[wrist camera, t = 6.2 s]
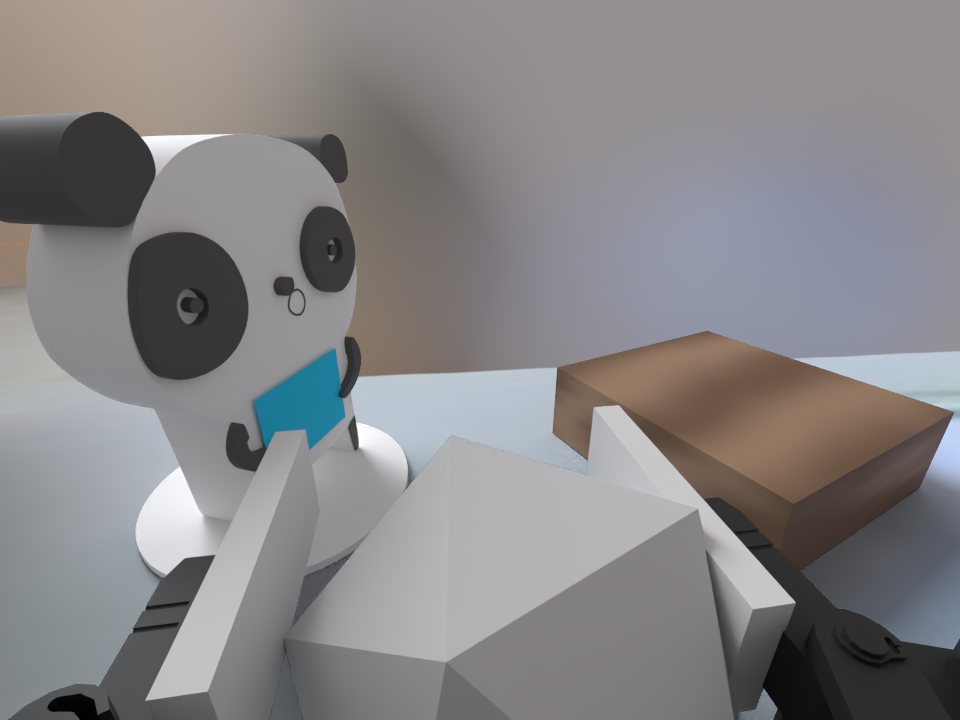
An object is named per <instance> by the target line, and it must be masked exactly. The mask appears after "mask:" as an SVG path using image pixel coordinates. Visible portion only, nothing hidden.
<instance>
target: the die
mask: <svg viewBox="0 0 960 720" xmlns="http://www.w3.org/2000/svg"><path fill="white" fill-rule="evenodd" d="M284 645H285V649H286V653H287V657H288V661H289V665H290V669H291V673H292V677H293V681H294V685H295V689H296V693H297V697H298V701H299V705H300V709H301V713H302V717H303V720H742V717H741V712H738V711H737V707H736V703H735V699H734V695H733V691H732V687H731V682H730V678H729V673H728V667H727V662H726V657H725V651H724V646H723V640H722V635H721V630H720V624H719V619H718V614H717V608H716V603H715V597H714V592H713V587H712V581H711V576H710V571H709V565H708V560H707V555H706V549H705V542H704V534H703V528H702V524H701V519H700V515H699V510H698V508H694V507H691V506H688V505H684V504H681V503H677V502H674V501H671V500H667V499H664V498H661V497H657V496H654V495H651V494H647V493H644V492H640V491H637V490H634V489H630V488H627V487H624V486H620V485H617V484H614V483H610V482H607V481H603V480H600V479H597V478H593V477H590V476H587V475H583V474H580V473H577V472H573V471H570V470H566V469H563V468H560V467H556V466H553V465H550V464H546V463H543V462H540V461H536V460H533V459H529V458H526V457H523V456H519V455H516V454H513V453H509V452H506V451H503V450H499V449H496V448H493V447H489V446H486V445H482V444H479V443H476V442H472V441H469V440H466V439H462V438H459V437H456V436H452V435H451V436H450V437H449V438H448V439H447V441H446V442H445V443H444V444H443V445H442V447H441V448H440V449H439V450H438V452H437V453H436V454H435V455H434V456H433V458H432V459H431V460H430V461H429V462H428V464H427V465H426V466H425V467H424V468H423V470H422V471H421V472H420V473H419V474H418V476H417V477H416V478H415V479H414V480H413V482H412V483H411V484H410V485H409V486H408V488H407V489H406V490H405V491H404V493H403V494H402V495H401V496H400V497H399V499H398V500H397V501H396V502H395V503H394V505H393V506H392V507H391V508H390V509H389V511H388V512H387V513H386V514H385V515H384V517H383V518H382V519H381V520H380V521H379V523H378V524H377V525H376V526H375V527H374V529H373V530H372V531H371V532H370V534H369V535H368V536H367V537H366V538H365V540H364V541H363V542H362V543H361V544H360V546H359V547H358V548H357V549H356V550H355V552H354V553H353V554H352V555H351V556H350V558H349V559H348V560H347V561H346V562H345V564H344V565H343V566H342V567H341V568H340V570H339V571H338V572H337V573H336V575H335V576H334V577H333V578H332V579H331V581H330V582H329V583H328V584H327V585H326V587H325V588H324V589H323V590H322V591H321V593H320V594H319V595H318V596H317V597H316V599H315V600H314V601H313V602H312V603H311V605H310V606H309V607H308V608H307V609H306V611H305V612H304V613H303V614H302V616H301V617H300V618H299V619H298V620H297V622H296V623H295V624H294V625H293V626H292V628H291V629H290V630H289V631H288V632H287V634H286V635H285V637H284Z"/></svg>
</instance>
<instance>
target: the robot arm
mask: <svg viewBox="0 0 960 720" xmlns="http://www.w3.org/2000/svg"><path fill="white" fill-rule="evenodd" d="M586 475H587V476H590V477H593V478H597V479H600V480H603V481H607V482H610V483H614V484H617V485H620V486H624V487H627V488H630V489H634V490H637V491H640V492H644V493H647V494H651V495H654V496H657V497H661V498H664V499H667V500H671V501H674V502H677V503H681V504H684V505H688V506H691V507H694V508H698V510H699V515H700V519H701V524H702V528H703V534H704V542H705V549H706V555H707V560H708V565H709V571H710V576H711V581H712V587H713V592H714V597H715V603H716V608H717V614H718V619H719V624H720V630H721V635H722V640H723V646H724V651H725V657H726V662H727V667H728V673H729V678H730V682H731V687H732V691H733V695H734V699H735V703H736V707H737V711H738V712H743V711H748V710H754V709H756V706H757V704H758V701H759V698H760V696H761V693H762V691H763V688H764V689H765V691H766V692H767V694H768V695H769V696H770V698H771V699H772V701H773V702H774V704H775V705H776V707H777V708H778V710H777V712H776V714H775V717H774V719H773V720H960V639H959V641H958V643H957V644H956V646H955V648H954V649H953V650H951V649H945V648H939V647H933V646H927V645H921V644H915V643H909V642H903V641H900V640H899V639H897V638H896V637H895V636H894V635H892V634H891V633H890V632H889V631H887V630H886V629H885V628H884V627H882V626H881V625H879V624H877V623H876V622H874V621H872V620H870V619H868V618H866V617H865V616H863V615H860V614H857V613H854V612H851V611H847V610H844V609H837V608H836V607H835V606H833V605H832V604H831V603H830V602H829V601H828V600H827V599H826V598H825V597H824V596H823V594H822V593H821V592H820V591H819V590H818V589H817V588H816V587H815V586H814V585H813V584H812V583H811V582H810V581H809V580H808V579H807V578H806V577H805V576H804V575H803V574H802V573H801V572H800V571H799V570H798V569H797V568H796V567H795V566H794V565H793V564H792V563H791V562H790V561H789V560H788V559H787V558H786V557H785V556H784V555H783V554H782V553H781V551H780V550H779V549H778V548H774V547H773V543H772V542H771V541H770V540H769V539H768V538H767V537H766V536H765V535H764V534H763V533H760V532H759V529H758V528H757V527H756V526H755V525H754V524H753V523H752V522H751V521H750V520H749V519H748V518H747V517H746V516H745V515H744V514H743V513H742V512H741V511H740V510H738V509H737V508H735V507H733V506H732V505H730V504H729V503H727V502H725V501H724V500H722V499H721V498H719V497H716V498H707V499H702V497H701V496H700V495H699V494H698V493H697V492H696V491H695V490H694V489H693V487H692V486H691V485H690V484H689V483H688V482H687V481H686V480H685V479H684V477H683V476H682V475H681V474H680V473H679V472H678V471H677V470H676V468H675V467H674V466H673V465H672V464H671V463H670V462H669V461H668V460H667V458H666V457H665V456H664V455H663V454H662V453H661V452H660V451H659V450H658V448H657V447H656V446H655V445H654V444H653V443H652V442H651V441H650V440H649V438H648V437H647V436H646V435H645V434H644V433H643V432H642V431H641V429H640V428H639V427H638V426H637V425H636V424H635V423H634V422H633V421H632V419H631V418H630V417H629V416H628V415H627V414H626V413H625V412H624V411H623V409H622V408H621V407H620V406H619V405H615V406H602V407H594V410H593V419H592V428H591V437H590V446H589V455H588V464H587V473H586ZM319 513H320V509H319V503H318V497H317V492H316V486H315V480H314V474H313V469H312V463H311V457H310V452H309V446H308V440H307V434H306V430H293V431H281V432H275V434H274V436H273V438H272V440H271V442H270V444H269V446H268V448H267V450H266V452H265V454H264V456H263V459H262V461H261V463H260V465H259V467H258V469H257V471H256V473H255V475H254V477H253V479H252V481H251V483H250V485H249V487H248V489H247V492H246V494H245V496H244V498H243V500H242V502H241V504H240V506H239V508H238V510H237V512H236V514H235V516H234V518H233V520H232V523H231V525H230V527H229V529H228V531H227V533H226V535H225V537H224V539H223V541H222V543H221V545H220V547H219V549H218V551H217V553H216V555H208V556H199V557H190V558H184V559H183V560H182V561H181V562H180V563H179V564H178V565H177V566H176V567H175V568H174V569H173V570H172V571H171V572H170V573H169V574H168V575H167V576H166V577H164V578H163V579H162V580H161V582H160V583H159V585H158V587H157V589H156V590H155V592H154V594H153V595H152V597H151V599H150V600H149V602H148V604H147V606H146V611H144V612H142V614H141V616H140V617H139V619H138V621H137V623H136V624H135V626H134V628H133V633H132V634H130V635H129V636H128V638H127V640H126V641H125V643H124V645H123V646H122V648H121V650H120V652H119V653H118V655H117V657H116V658H115V660H114V662H113V664H112V665H111V667H110V669H109V670H108V672H107V674H106V675H105V677H104V679H103V681H102V682H101V684H100V686H99V687H98V686H96V685H87V684H75V685H72V686H68V687H65V688H62V689H59V690H55V691H52V692H50V693H48V694H47V695H45V696H43V697H41V698H39V699H37V700H36V701H34V702H32V703H30V704H28V705H27V706H25V707H24V708H22V709H21V710H20V711H19V712H17V713H16V714H15V715H14V716H12V717H11V718H10V719H9V720H269V718H270V714H271V710H272V706H273V702H274V698H275V694H276V690H277V686H278V681H279V677H280V673H281V669H282V665H283V661H284V657H285V653H286V649H285V645H284V637H285V635H286V634H287V632H288V631H289V630H290V629H291V628H292V624H293V620H294V616H295V612H296V608H297V603H298V599H299V595H300V591H301V587H302V583H303V579H304V575H305V571H306V567H307V562H308V558H309V554H310V550H311V546H312V542H313V538H314V534H315V530H316V525H317V521H318V517H319Z"/></svg>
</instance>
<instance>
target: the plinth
mask: <svg viewBox="0 0 960 720" xmlns="http://www.w3.org/2000/svg"><path fill="white" fill-rule="evenodd" d="M615 405H619V406H620V407H621V408H622V409H623V411H624V412H625V413H626V414H627V415H628V416H629V417H630V418H631V419H632V421H633V422H634V423H635V424H636V425H637V426H638V427H639V428H640V429H641V431H642V432H643V433H644V434H645V435H646V436H647V437H648V438H649V440H650V441H651V442H652V443H653V444H654V445H655V446H656V447H657V448H658V450H659V451H660V452H661V453H662V454H663V455H664V456H665V457H666V458H667V460H668V461H669V462H670V463H671V464H672V465H673V466H674V467H675V468H676V470H677V471H678V472H679V473H680V474H681V475H682V476H683V477H684V479H685V480H686V481H687V482H688V483H689V484H690V485H691V486H692V487H693V489H694V490H695V491H696V492H697V493H698V494H699V495H700V496H701V497H702V499H707V498H716V497H719V498H721V499H722V500H724V501H725V502H727V503H729V504H730V505H732V506H733V507H735V508H737V509H738V510H740V511H741V512H742V513H743V514H744V515H745V516H746V517H747V518H748V519H749V520H750V521H751V522H752V523H753V524H754V525H755V526H756V527H757V528H758V529H759V532H760V533H763V534H764V535H765V536H766V537H767V538H768V539H769V540H770V541H771V542H772V543H773V547H774V548H778V549H779V550H780V551H781V553H782V554H783V555H784V556H785V557H786V558H787V559H788V560H789V561H790V562H791V563H792V564H793V565H794V566H795V567H796V568H797V569H798V570H799V571H800V570H801V569H803V568H804V567H805V566H807V565H808V564H810V563H811V562H813V561H814V560H816V559H817V558H818V557H820V556H821V555H823V554H824V553H826V552H827V551H829V550H830V549H831V548H833V547H834V546H836V545H837V544H839V543H840V542H842V541H843V540H844V539H846V538H847V537H849V536H850V535H852V534H853V533H855V532H856V531H858V530H859V529H860V528H862V527H863V526H865V525H866V524H868V523H869V522H871V521H872V520H873V519H875V518H876V517H878V516H879V515H881V514H882V513H884V512H885V511H886V510H888V509H889V508H891V507H892V506H894V505H895V504H897V503H898V502H900V501H901V500H902V499H904V498H905V497H907V496H908V495H910V494H911V493H913V492H914V491H915V490H917V489H918V488H919V487H920V485H921V483H922V481H923V479H924V477H925V474H926V472H927V470H928V468H929V466H930V464H931V461H932V459H933V457H934V455H935V453H936V451H937V449H938V446H939V444H940V442H941V440H942V438H943V436H944V433H945V431H946V429H947V427H948V425H949V423H950V420H951V418H952V416H953V414H954V412H952V411H949V410H946V409H943V408H940V407H937V406H934V405H931V404H928V403H925V402H922V401H918V400H915V399H912V398H909V397H906V396H903V395H900V394H897V393H894V392H891V391H888V390H885V389H882V388H879V387H876V386H873V385H870V384H867V383H864V382H861V381H858V380H855V379H852V378H849V377H846V376H842V375H839V374H836V373H833V372H830V371H827V370H824V369H821V368H818V367H815V366H812V365H809V364H806V363H803V362H800V361H797V360H794V359H791V358H788V357H784V356H782V355H779V354H776V353H773V352H769V351H766V350H763V349H760V348H757V347H754V346H751V345H748V344H745V343H742V342H739V341H736V340H733V339H730V338H727V337H724V336H721V335H718V334H715V333H712V332H709V331H706V332H701V333H697V334H693V335H689V336H685V337H681V338H677V339H673V340H668V341H664V342H660V343H656V344H652V345H648V346H644V347H640V348H636V349H632V350H627V351H624V352H620V353H616V354H611V355H607V356H603V357H599V358H595V359H591V360H586V361H583V362H578V363H575V364H570V365H566V366H562V367H558V368H557V380H556V394H555V408H554V422H553V433H554V434H555V435H556V436H557V437H559V438H560V439H561V440H563V441H564V442H565V443H567V444H568V445H569V446H570V447H572V448H573V449H574V450H576V451H577V452H578V453H579V454H581V455H582V456H583V457H585V458H586V459H587V460H588V455H589V446H590V437H591V428H592V419H593V410H594V407H602V406H615Z"/></svg>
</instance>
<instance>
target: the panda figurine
mask: <svg viewBox="0 0 960 720" xmlns="http://www.w3.org/2000/svg"><path fill="white" fill-rule="evenodd" d="M347 168H348V167H347V159H346V154H345V150H344V147H343V145H342V143H341V141H340V140H339V138H338V137H336V136H335V135H332V134H327V135H326V134H324V135H282V136H263V135H256V134H217V135H182V136H181V135H180V136H146V137H140V136H139V134H138V133H137V132H135V131H134V130H133V129H132V128H131V127H130V126H129V125H127V124H126V123H125V122H123V121H122V120H121V119H119V118H117V117H115V116H113V115H111V114H108V113H104V112H89V113H68V114H46V115H25V116H24V115H23V116H1V117H0V221H3V222H8V223H22V224H33V227H32V232H31V236H30V242H29V248H28V254H27V267H26V286H27V298H28V305H29V310H30V314H31V318H32V321H33V324H34V327H35V330H36V332H37V335H38V337H39V339H40V341H41V343H42V345H43V347H44V349H45V350H46V352H47V353H48V355H49V356H50V357H51V359H52V360H53V361H54V362H55V363H56V364H57V365H58V366H60V367H61V368H62V369H63V370H65V371H66V372H67V373H68V374H70V375H71V376H72V377H74V378H75V379H76V380H78V381H79V382H81V383H82V384H84V385H85V386H87V387H88V388H90V389H92V390H94V391H95V392H97V393H99V394H101V395H104V396H106V397H108V398H111V399H114V400H117V401H120V402H123V403H127V404H131V405H136V406H142V407H147V408H153V409H155V411H156V413H157V415H158V417H159V420H160V422H161V424H162V426H163V429H164V431H165V433H166V435H167V438H168V440H169V442H170V444H171V447H172V449H173V451H174V453H175V456H176V458H177V460H178V463H179V465H180V467H179V468H177V469H176V470H175V471H174V472H172V473H171V474H170V475H169V476H168V477H167V478H166V479H164V480H163V481H162V482H161V483H160V484H159V486H158V487H157V488H156V489H155V490H154V491H153V492H152V494H151V495H150V496H149V498H148V499H147V501H146V502H145V504H144V506H143V508H142V510H141V512H140V514H139V517H138V520H137V524H136V532H135V533H136V542H137V545H138V548H139V551H140V554H141V556H142V558H143V560H144V561H145V563H146V565H147V566H148V567H149V568H150V569H151V570H152V571H153V572H154V573H156V574H157V575H158V576H160V577H161V578H164V577H166V576H167V575H168V574H169V573H170V572H171V571H172V570H173V569H174V568H175V567H176V566H177V565H178V564H179V563H180V562H181V561H182V560H183V559H184V558H190V557H199V556H208V555H216V553H217V551H218V549H219V547H220V545H221V543H222V541H223V539H224V537H225V535H226V533H227V531H228V529H229V527H230V525H231V523H232V520H233V518H234V516H235V514H236V512H237V510H238V508H239V506H240V504H241V502H242V500H243V498H244V496H245V494H246V492H247V489H248V487H249V485H250V483H251V481H252V479H253V477H254V475H255V473H256V471H257V469H258V467H259V465H260V463H261V461H262V459H263V456H264V454H265V452H266V450H267V448H268V446H269V444H270V442H271V440H272V438H273V436H274V434H275V432H281V431H293V430H306V434H307V440H308V446H309V452H310V457H311V463H312V469H313V474H314V480H315V486H316V492H317V497H318V503H319V509H320V513H319V517H318V521H317V525H316V530H315V534H314V538H313V542H312V546H311V550H310V554H309V558H308V562H307V567H306V571H305V575H304V576H306V575H308V574H311V573H313V572H315V571H318V570H320V569H322V568H324V567H326V566H328V565H330V564H332V563H334V562H336V561H338V560H340V559H342V558H343V557H345V556H347V555H348V554H350V553H352V552H353V551H355V550H356V549H357V548H358V547H359V546H360V544H361V543H362V542H363V541H364V540H365V538H366V537H367V536H368V535H369V534H370V532H371V531H372V530H373V529H374V527H375V526H376V525H377V524H378V523H379V521H380V520H381V519H382V518H383V517H384V515H385V514H386V513H387V512H388V511H389V509H390V508H391V507H392V506H393V505H394V503H395V502H396V501H397V500H398V499H399V497H400V496H401V495H402V494H403V493H404V491H405V490H406V489H407V484H408V465H407V460H406V457H405V454H404V452H403V451H402V449H401V447H400V446H399V445H398V443H397V442H396V441H395V440H393V439H392V438H391V437H390V436H388V435H387V434H386V433H384V432H382V431H380V430H378V429H376V428H374V427H371V426H368V425H365V424H361V423H357V422H356V420H355V416H354V412H353V406H352V399H351V390H352V388H353V386H354V385H355V382H356V380H357V378H358V375H359V371H360V365H361V354H360V349H359V346H358V344H357V342H356V340H355V339H354V338H353V337H345V336H346V333H347V331H348V328H349V325H350V322H351V318H352V314H353V309H354V304H355V295H356V258H355V246H354V240H353V236H352V233H351V230H350V226H349V222H348V219H347V215H346V212H345V209H344V205H343V202H342V200H341V197H340V194H339V191H338V188H337V186H336V184H335V183H342V182H344V181H345V180H346V178H347V174H348V169H347ZM344 338H345V340H344ZM344 343H345V345H344ZM345 351H346V352H345ZM346 354H347V359H348V365H347V361H346Z"/></svg>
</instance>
